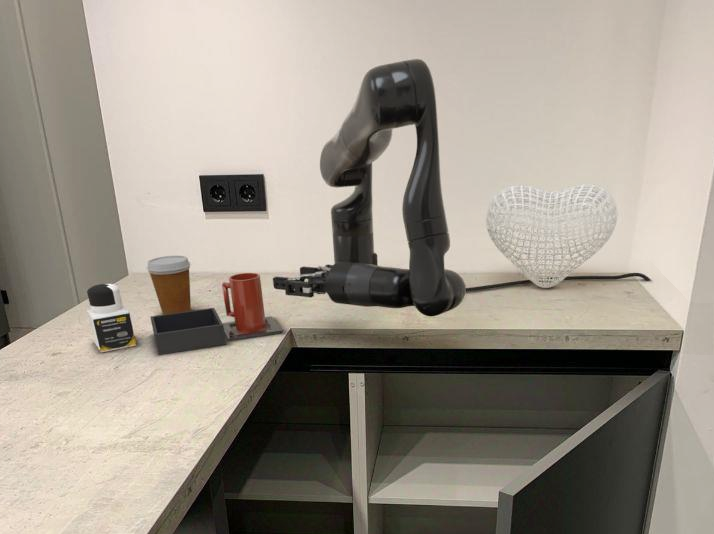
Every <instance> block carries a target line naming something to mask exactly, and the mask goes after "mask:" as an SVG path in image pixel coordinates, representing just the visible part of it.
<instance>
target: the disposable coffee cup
mask: <svg viewBox="0 0 714 534" xmlns="http://www.w3.org/2000/svg"><path fill="white" fill-rule="evenodd" d="M190 268H191V262H190V261H189V259H188V257H187V256H185V255H164V256H158V257H154V258H151V259H149V260H147V266H146V270H147V271H148V274H149V275H150V279H151V281H152V284H153V288H154V291H155V294H156V297H157V300H158V304H159V306H160V309H161V313H162V315H165V314H172V313H179V312H186V311H192V304H191V303H192V302H191V282H190V281H191V278H190Z"/></svg>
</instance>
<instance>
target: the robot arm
mask: <svg viewBox="0 0 714 534" xmlns="http://www.w3.org/2000/svg"><path fill="white" fill-rule="evenodd" d="M432 75H433V74H432V73H431V70H430V67H429V65H428V63H426V61H424V60H423V59H421V58H413V59H406V60H401V61H396V62H391V63H386V64H381V65H377V66H375V67H372V68H370V69H369V70H368V71H367V72H365V74H364V76H363V78H362V80H361V82H360V85H359V88H358V92H357V96H356V98H355V101H354V103H353V104H352V106H351V109H350V110H349V112H348V113H347V115H346V116H345V118H344V120H343V121H342V123H341V125H340V126H339V129H338V130H337V131H336V133H335V134H334V135H333V137H331V138H330V139H329V140H328V141H326V142H325V143H324V145H323V146H322V149H321V152H320V157H319V170H320V175H321V178H322V180H323V181H324V183H325V184H326V185H327V186H328V187H330V188H347V187H350V188H351V187H354V190H353V191H352V193H351V194H350V195H349V196H348V197H346V198H345V199H343V200H341V201H340V202H338V203H335V204H334V205H333V206H332V207H331V208H330V215H331V216H330V219H331V233H332V234H331V235H332V246H333V247H332V248H333V249H332V250H333V261H334V262H333V264H325V265H324V266H321V265H319V266H317V267H315V266H304V265H303V266H301V267H300V268H299V274H300V275H299V276H298V277H285V276H274V277H273V278H272V285H273V288H274V289H275V290H283V291H284V292H285V296H293V297H302V298H313V297H315V294H316V295H325V294H327V296H328V297H329V299H330V300H331V301H332V302H333V303H335V304H341V305H349V306H357V307H358V306H359V307H365V308H366V307H370V308H371V307H378V308H385V309H386V308H388V309H403V308H408V307H415V308H416V310H417V311H418V312H419V313H420V314H422V315H423V316H425V317H436V316H439V315H440V316H441V315H442V314H445V313H448V312H449V311H450V312H451V310H454V309H457V307H459V306H460V305H461V304H462V303H463V301H464V299H465V297H466V293H467V292H475V291H483V290H491V289H498V288H505V287H511V286H519V285H526V284H534V283H533V282H532V281H531V280H529V279H523V280H516V281H514V280H513V281H509V282H507V281H506V282H502V283H494V284H486V285H479V286H472V287H467V286H466V283H465V280H464V279H463V277H462V276H461V275H460V274H459V273H457V271H454V270H451V269H448V268H445V255H446V254H447V252H449V250H450V248H451V238H450V233H449V227H448V221H447V216H446V209H445V204H444V198H443V191H442V190H443V189H442V179H441V158H440V139H439V125H438V112H437V111H438V110H437V97H436V89H435V84H434V80H433V76H432ZM409 126H414V128H415V133H416V134H415V135H416V151H415V156H414V161H413V165H412V168H411V172H410V174H409V178H408V180H407V184H406V186H405V190H404V193H403V198H402V209H401V211H402V220H403V225H404V231H405V236H406V240H407V245H408V249H409V259H408V260H409V261H408V268H400V267H394V266H393V267H392V266H381V265H378V253H376V252H375V238H374V237H375V236H374V218H373V206H374V205H373V201H374V200H373V163H374V162H375V161H377V160H378V159H379V158H380V157H381V156H382V155H383V154H384V153H385V152H386V150H387V149H388V147H389V146H390V143H391V142H392V138H393V129H398V128H403V127H409ZM633 277H638V278H642V279H643V280H645V281H646V282H651V279H650V277H648V275H646V274H644V273H640V272H629V273H625V274H624V273H623V274H619V275H572V276H571V275H568V276H567V277H566V278H565V279H563V280H562V281H582V280H583V281H584V280H585V281H586V280H587V281H589V280H590V281H591V280H600V281H601V280H603V281H604V280H605V281H606V280H607V281H609V280H611V281H612V280H621V279H626V278H633ZM552 278H553V276H551V278H550V279H552ZM555 278H556V277H555ZM557 278H558V277H557ZM557 278H556V279H557ZM560 278H561V277H560ZM538 279H540V277H538ZM541 279H543V277H541ZM544 279H545V278H544ZM547 279H549V277H547ZM306 280H307V281H306ZM539 282H541V281H540V280H539ZM542 283H543V281H542ZM544 283H546V281H544Z"/></svg>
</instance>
